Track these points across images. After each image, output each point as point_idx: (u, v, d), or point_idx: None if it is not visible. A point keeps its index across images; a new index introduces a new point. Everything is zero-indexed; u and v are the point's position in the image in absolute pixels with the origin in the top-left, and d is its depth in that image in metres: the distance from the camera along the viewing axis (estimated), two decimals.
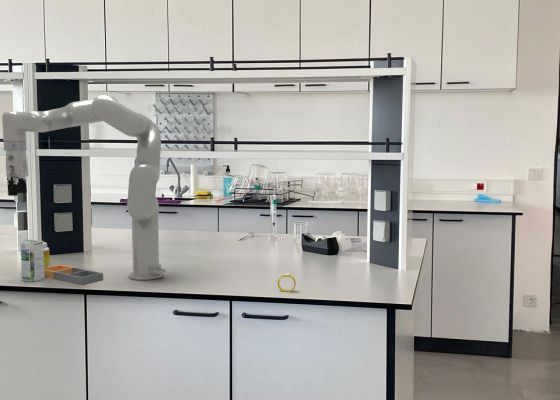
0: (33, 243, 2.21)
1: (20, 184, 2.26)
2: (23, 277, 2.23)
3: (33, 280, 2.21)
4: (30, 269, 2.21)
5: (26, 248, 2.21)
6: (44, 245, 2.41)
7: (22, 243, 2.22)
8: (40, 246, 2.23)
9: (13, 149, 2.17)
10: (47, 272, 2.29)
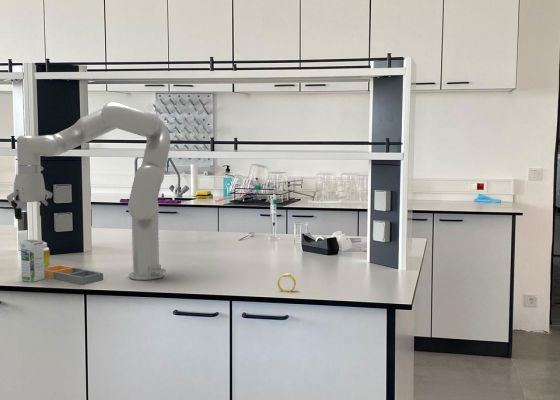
0: (33, 243, 2.21)
1: None
2: (23, 277, 2.23)
3: (33, 280, 2.21)
4: (30, 269, 2.21)
5: (26, 248, 2.21)
6: (44, 245, 2.41)
7: (22, 243, 2.22)
8: (40, 246, 2.23)
9: None
10: (47, 272, 2.29)
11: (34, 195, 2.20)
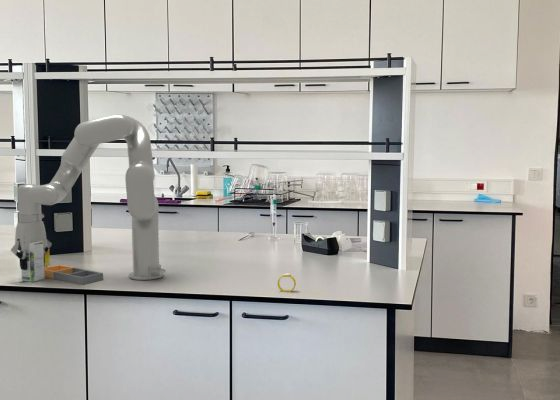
0: (33, 243, 2.21)
1: None
2: (23, 277, 2.23)
3: (33, 280, 2.21)
4: (30, 269, 2.21)
5: None
6: None
7: None
8: (40, 246, 2.23)
9: None
10: (47, 272, 2.29)
11: None
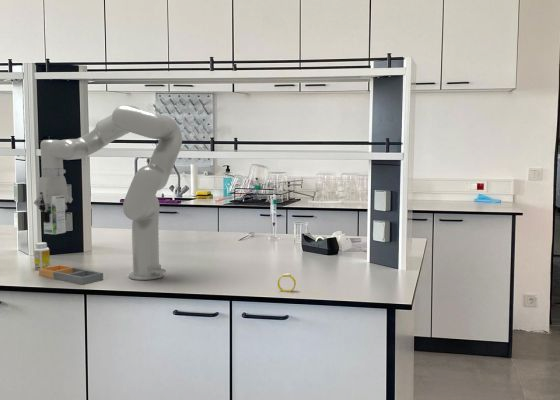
0: (55, 196, 2.27)
1: None
2: (45, 230, 2.29)
3: (55, 233, 2.28)
4: (52, 222, 2.27)
5: None
6: (44, 245, 2.41)
7: None
8: (62, 200, 2.30)
9: None
10: (47, 272, 2.29)
11: None
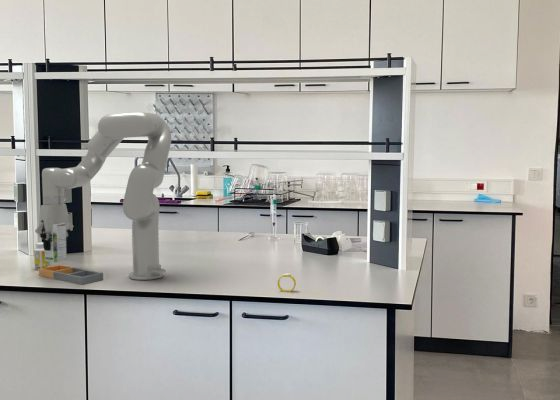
0: (56, 225, 2.28)
1: None
2: (46, 257, 2.30)
3: (56, 260, 2.29)
4: (53, 250, 2.29)
5: None
6: None
7: None
8: (63, 228, 2.31)
9: None
10: (47, 272, 2.29)
11: None
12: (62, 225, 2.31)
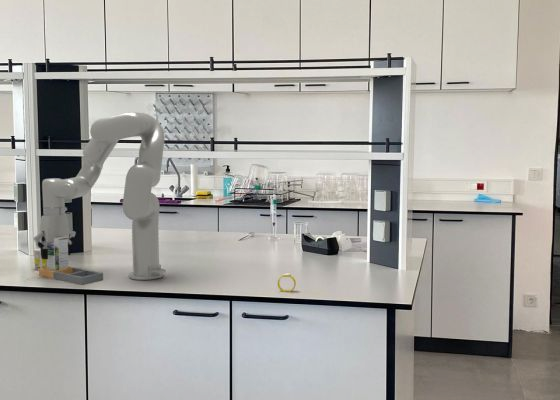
0: (58, 238, 2.29)
1: None
2: None
3: None
4: (55, 263, 2.29)
5: (51, 243, 2.29)
6: None
7: None
8: (65, 241, 2.32)
9: None
10: (47, 272, 2.29)
11: (59, 235, 2.30)
12: (64, 239, 2.31)
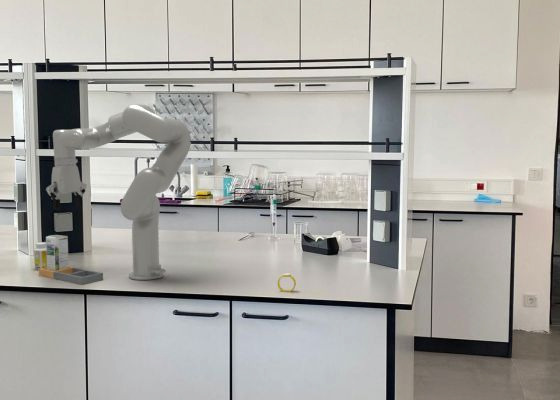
0: (58, 238, 2.29)
1: None
2: None
3: None
4: (55, 263, 2.29)
5: (51, 243, 2.29)
6: (44, 245, 2.41)
7: (47, 238, 2.30)
8: (65, 241, 2.32)
9: None
10: (47, 272, 2.29)
11: (70, 186, 2.31)
12: (64, 239, 2.31)
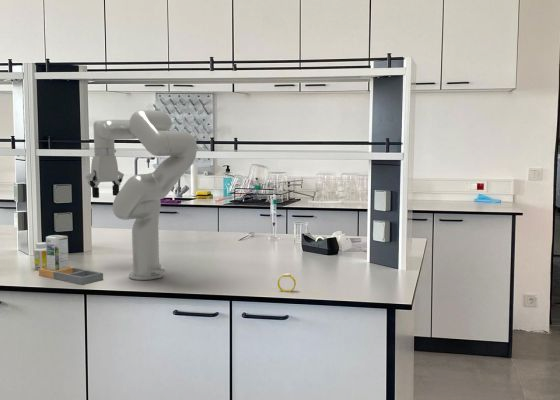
0: (58, 238, 2.29)
1: None
2: None
3: None
4: (55, 263, 2.29)
5: (51, 243, 2.29)
6: (44, 245, 2.41)
7: (47, 238, 2.30)
8: (65, 241, 2.32)
9: None
10: (47, 272, 2.29)
11: (109, 175, 2.39)
12: (64, 239, 2.31)
